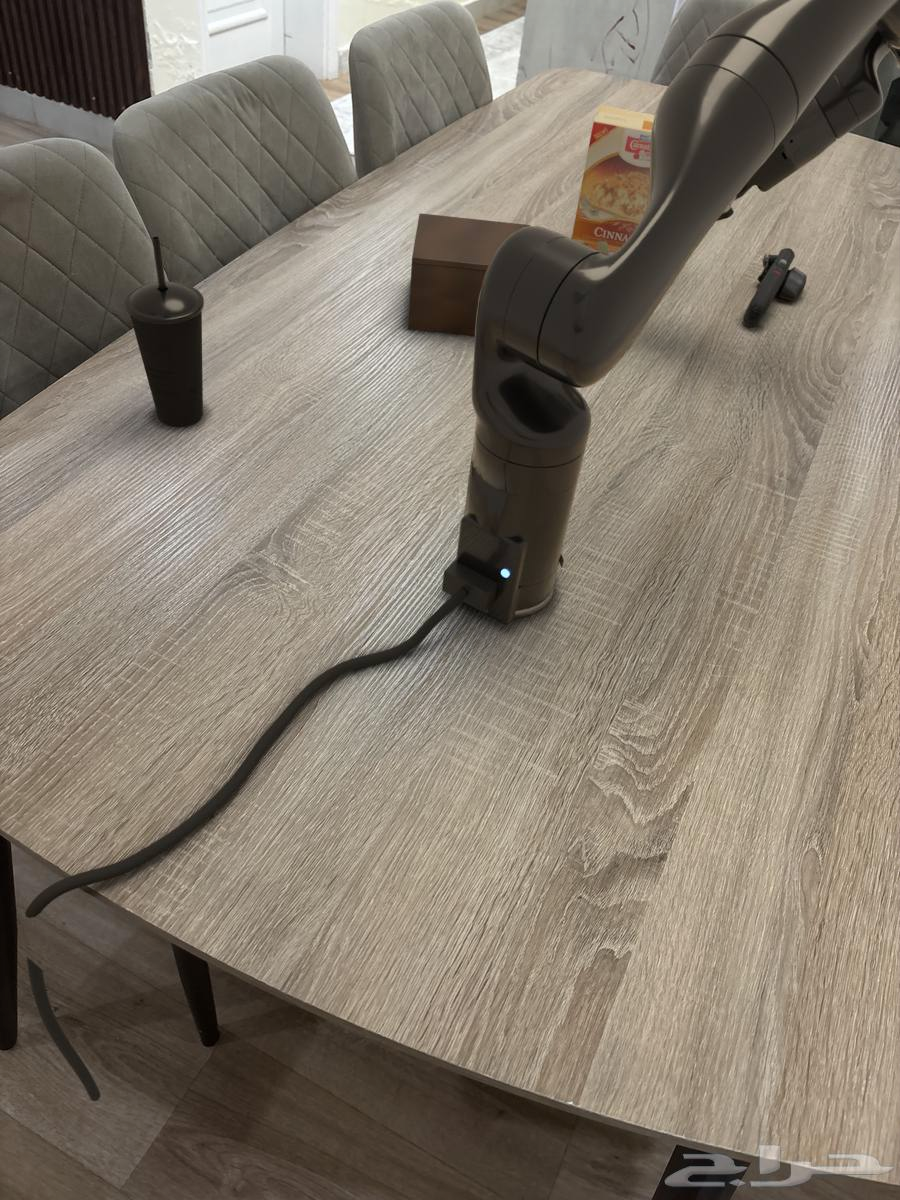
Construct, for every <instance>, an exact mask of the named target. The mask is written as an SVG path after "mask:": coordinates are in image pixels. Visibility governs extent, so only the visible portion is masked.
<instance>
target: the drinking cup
mask: <svg viewBox="0 0 900 1200" xmlns="http://www.w3.org/2000/svg"><path fill="white" fill-rule="evenodd" d="M160 239H161V238H160V237H159V236H152V238H151V242H152V248H153V256H154V262H155V268H156V269H155V270H156V276H157V282H156V281H154V282H150V283H145V284H142V285H140V286H136V287H134V288H133V289H132V290H130V291H129V292H128V293H127V294H126V296H125V298H124V300H123V301H124V309H125V310H126V312H127V314H128V315H129V316H130V321H131V323H132V327H133V332H134V334H135V339H136V342H137V346H138V349H139V352H140V353H139V354H140V357H141V359H142V364H143V367H144V368H143V369H144V371H145V375H146V379H147V383H148V386H149V389H150V393H151V396H152V397H151V398H152V400H153V404H154V407H155V411H156V415H157V418H158V420H159V421H160V422H161V423H162V424H164V425H167V426H169V427H174V428H183V427H189V426H192V425H194V424H197V423H198V422H199V421H201V419H202V418H203V416H204V393H203V392H204V391H203V390H204V388H203V387H204V385H203V383H204V382H203V381H204V380H203V317H202V316H203V312H202V311H203V309H204V307H205V299H204V295H203V294H202V293H201V291H200V290H198V289H197V288H195V287H194V286H191V285H189V284H186V283H182V282H177V281H166V277H165V269H164V262H163V255H162V247H161V240H160Z"/></svg>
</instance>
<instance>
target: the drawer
mask: <svg viewBox="0 0 900 1200" xmlns="http://www.w3.org/2000/svg"><path fill="white" fill-rule="evenodd" d="M582 244H584V245H586V246H588V244H585V243H582ZM596 250H598V251H600V252H602V253H604V254H606V255H609V252H608V245H607V242H602V241H598V244H597V249H596Z"/></svg>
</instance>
